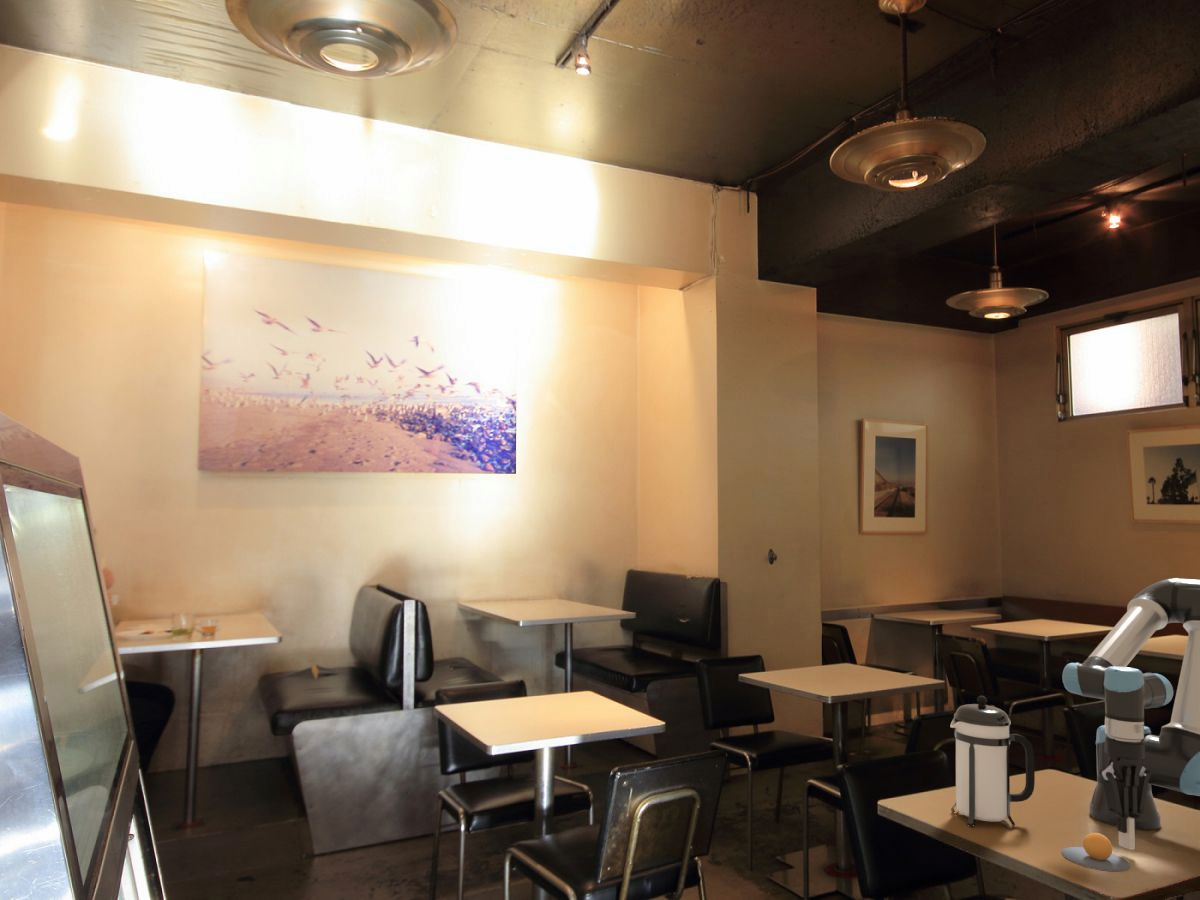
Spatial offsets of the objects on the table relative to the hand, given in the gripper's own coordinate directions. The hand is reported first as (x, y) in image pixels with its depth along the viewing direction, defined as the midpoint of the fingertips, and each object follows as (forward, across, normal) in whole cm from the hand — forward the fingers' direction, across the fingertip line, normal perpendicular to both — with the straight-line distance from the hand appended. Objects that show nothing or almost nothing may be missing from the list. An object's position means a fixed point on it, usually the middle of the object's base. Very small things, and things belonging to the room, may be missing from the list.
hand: (1126, 846), depth 187 cm
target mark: (+2, -9, 0) cm, 9 cm away
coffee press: (+2, -14, +26) cm, 30 cm away
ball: (-1, -9, 0) cm, 9 cm away
